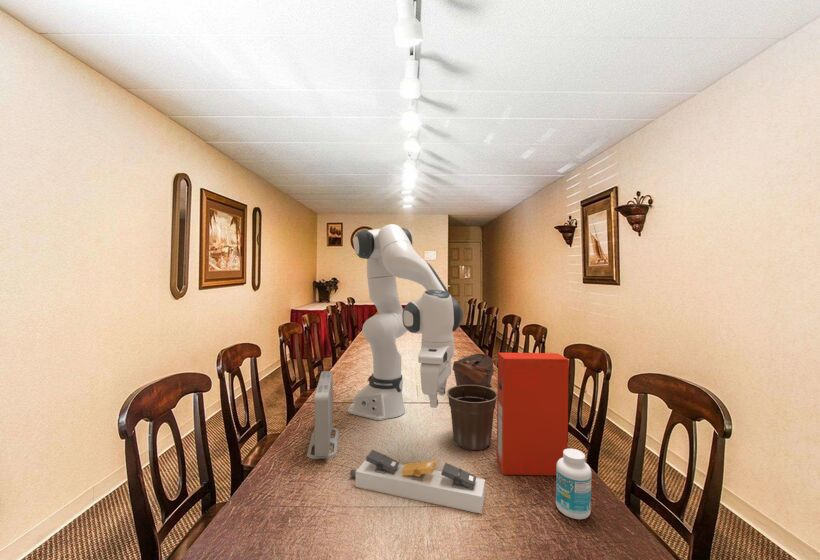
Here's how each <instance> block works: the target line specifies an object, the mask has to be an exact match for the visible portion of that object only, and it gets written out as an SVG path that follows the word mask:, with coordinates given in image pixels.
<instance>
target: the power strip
mask: <svg viewBox="0 0 820 560" xmlns="http://www.w3.org/2000/svg"><path fill="white" fill-rule="evenodd" d="M404 466H405V464H402V463H399V466H398V468H397V469H396V471H395V472H394V474H393V473H391V472H389V471H387V470H385V469H382V470H379V469H377V467H376V465H374V464H372V463H370V462H368V461H366V459H365V460H364V461H363V462H362V463H361V464H360V465H359V467H358V468H357V469H351V470H350V472H349V476H350V477H355V488H359V489H362V490H363V489H364V490H369V491H372V492H378V493H381V494H382V493H383V494H386V495H392V496H396V497H402V498H404V499H405V498H406V499H410V500H416V501H418V502H419V501H420V502H425V503H428V504H434V505H439V506H443V507H448V508H451V509H452V508H453V509H456V510H463V511H468V512H471V513H476V514H481V515H482V513H483V508H484V503H485V496H486V479H484V478H479V477H476V481H475V485H474V488H473V489H471V488H469V487H467V486H465V485H463V484H460V485H456V484H455V483H454V482H453V480H452V479H449V478H447V477H445V476H443V475H441V474H442V470H441V471H440V470H436V469H434V471H433V473H428V474H421V476H420V477H416V476H414V475H404V476H403V475H402V469H403V468H404Z"/></svg>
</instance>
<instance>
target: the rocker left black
mask: <svg viewBox="0 0 820 560" xmlns="http://www.w3.org/2000/svg"><path fill="white" fill-rule="evenodd" d="M365 460H366V461H368V462H370V463H372V464H374V465H376V467H377V469H379V470H382V469H385V470H387V471H389V472H391V473H393V474H394V472H395V471H396V469H397V468H398V466H399V464H400V461H398V460H396V459H393V458H391V457H390V456H388V455H385V454H383V453H381V452H379V451H376V450H374V449H372V450H371V451H370V452H369V453H368V455H367V456H366V458H365Z"/></svg>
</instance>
